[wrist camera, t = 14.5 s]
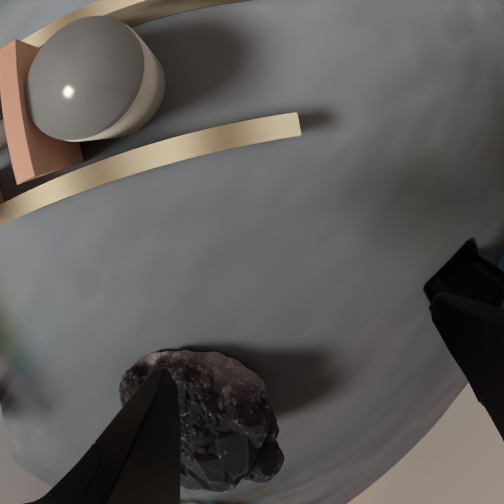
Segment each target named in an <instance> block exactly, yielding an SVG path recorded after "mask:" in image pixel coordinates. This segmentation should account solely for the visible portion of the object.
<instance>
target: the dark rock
mask: <svg viewBox="0 0 504 504" xmlns="http://www.w3.org/2000/svg"><path fill="white" fill-rule="evenodd" d="M161 367H166V368H168V370H169V371H170V373H171V375H172V377H173V379H174V381H175V383H176V385H177V388H178V398H179V411H180V423H181V457H180V485H181V486H182V487H184V488H186V489H191V490H198V489H204V490H210V491H215V492H224V493H227V492H229V490H232V489H234V488H235V487H236V486H237V484H238V483H239V482H240V480H241V479H242V478H243V479H245V480H251V481H254V482H257V483H266V482H268V481H270V480H271V479H272V478H273V477H274V476H275V475H276V474H277V473H278V472H279V470H280V468H281V466H282V465H283V462H284V455H283V453H282V451H281V449H280V448H279V445H278V443H277V441H276V438H277V435H278V433H279V428H278V425H277V420H276V418H275V416H274V414H273V411H272V408H271V407H270V405H269V399H268V393H267V390H266V387H265V384H264V382H263V380H262V378H260V377H259V376H258V375H256V374H255V373H254V372H253V371H251V370H249V369H247V368H246V367H245V366H244V365H242V364H241V363H240V362H239V361H238V360H236V359H233V358H231V357H226V356H225V355H224V354H221V353H219V352H192V351H188V350H182V351H176V352H174V351H164V352H152V353H151V354H149V355H148V356H146V357H143V358H141V359H140V360H139V361H138V362H137V363H136V364H135V365H134V366H132V367H131V368H130V369H129V370H127V371H126V373H125V374H124V375H123V376H122V378H121V383H120V387H119V392H120V400H121V402H122V407H123V406H124V405H125V404H126V403H127V402H128V400H129V399H130V398H131V397H132V395H133V394H134V393H135V392H136V390H137V389H138V388H139V387H140V385H141V384H142V383H143V382H144V380H145V379H146V378H147V377H148V375H149V374H150V373H151V372H152V371H153V369H155V368H161Z"/></svg>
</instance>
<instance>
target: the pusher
mask: <svg viewBox="0 0 504 504" xmlns="http://www.w3.org/2000/svg"><path fill="white" fill-rule="evenodd" d="M40 49H41V48H38V47H35V46H33V45H30V44H28V43H25V42H22V41H19V40H16V39H15V40H13V41H12V42H10V43H9V44H8V45H6V46H5V47H3V48H2V49H0V95H1V104H2V112H3V119H2V120H0V149H1V148H2V147H4V146H5V145H7V144H8V148H9V153H10V157H11V162H12V166H13V170H14V175H15V178H16V182H17V185H18V184H21V183H24V182H27V181H29V180H32V179H35V178H38V177H41V176H44V175H47V174H50V173H53V172H57V171H60V170H63V169H66V168H69V167H72V166H74V165H77V164H79V163H82V162H84V160H83V156H82V152H81V148H80V144H79V142H71V141H65V140H60V139H56V138H53V137H51V136H49V135H46V134H45V133H44V132H42V131H41V130H40V129H39V128H38V127H37V126H36V125H35V123H34V122H33V120H32V118H31V116H30V114H29V111H28V108H27V103H26V83H27V78H28V74H29V71H30V68H31V65H32V63H33V61H34V59H35V57H36V55H37V54H38V52H39V50H40Z"/></svg>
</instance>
